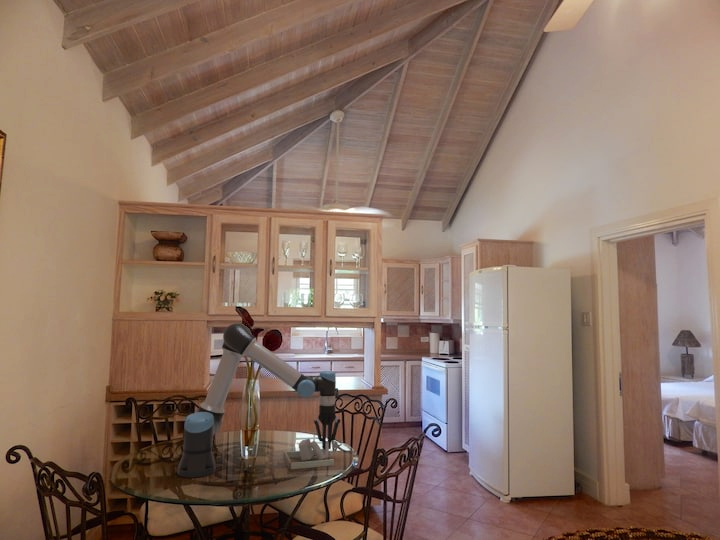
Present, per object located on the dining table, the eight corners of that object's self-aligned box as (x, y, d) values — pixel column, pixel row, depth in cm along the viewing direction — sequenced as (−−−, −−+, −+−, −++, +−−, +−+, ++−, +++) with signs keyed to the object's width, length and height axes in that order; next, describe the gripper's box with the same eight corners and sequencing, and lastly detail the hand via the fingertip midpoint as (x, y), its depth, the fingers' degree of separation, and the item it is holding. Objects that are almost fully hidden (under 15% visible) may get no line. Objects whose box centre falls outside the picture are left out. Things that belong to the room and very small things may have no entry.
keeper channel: (289, 469, 189) (289, 462, 190) (283, 457, 206) (283, 450, 206) (333, 465, 195) (334, 458, 196) (324, 454, 212) (324, 447, 212)
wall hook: (324, 462, 198) (319, 439, 200) (302, 466, 199) (298, 443, 201) (328, 456, 206) (323, 435, 208) (307, 460, 207) (302, 439, 209)
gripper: (315, 406, 202) (314, 459, 199) (342, 405, 206) (341, 457, 203) (312, 403, 209) (311, 455, 206) (338, 402, 213) (337, 452, 210)
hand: (326, 456), depth 205 cm, fingers closed
